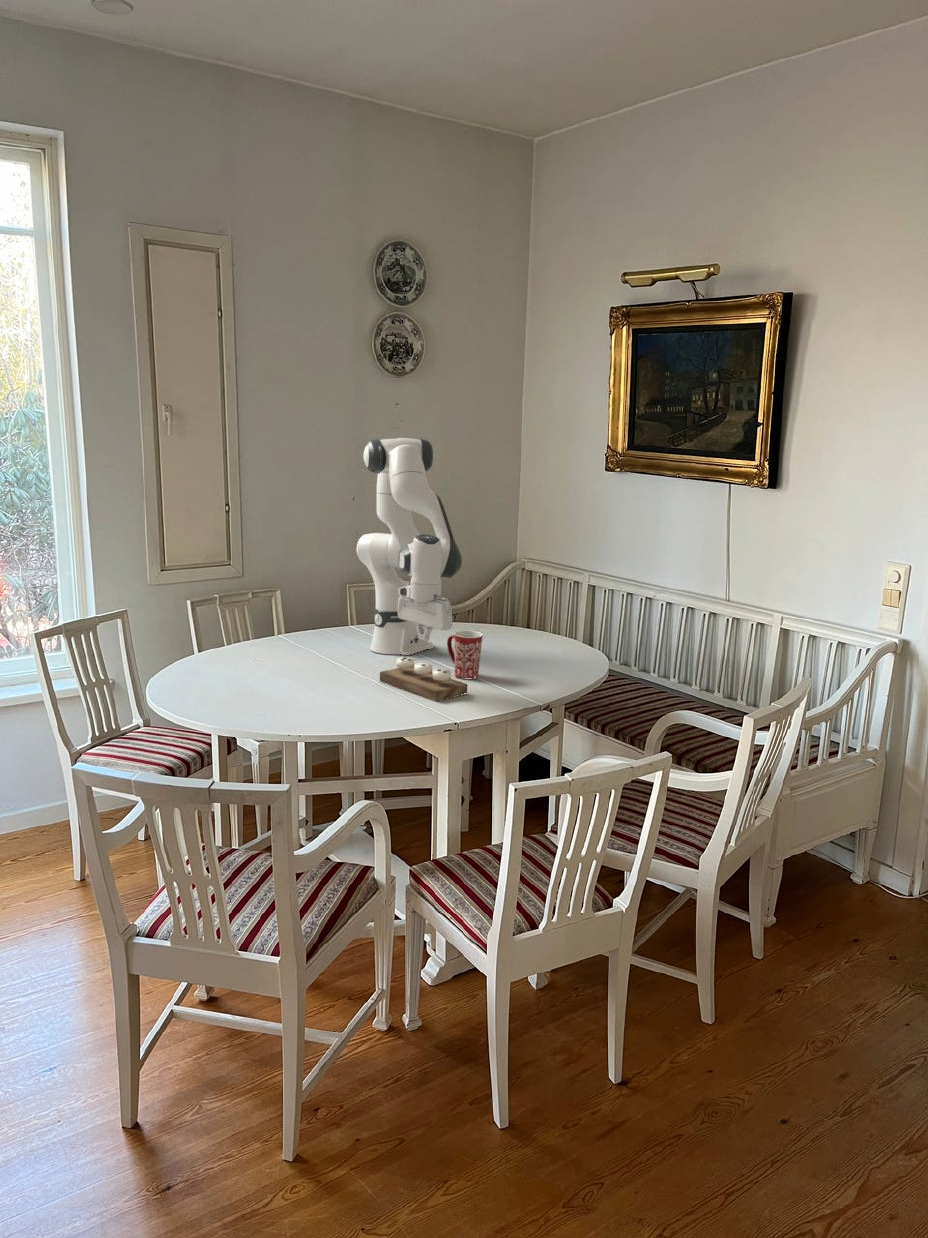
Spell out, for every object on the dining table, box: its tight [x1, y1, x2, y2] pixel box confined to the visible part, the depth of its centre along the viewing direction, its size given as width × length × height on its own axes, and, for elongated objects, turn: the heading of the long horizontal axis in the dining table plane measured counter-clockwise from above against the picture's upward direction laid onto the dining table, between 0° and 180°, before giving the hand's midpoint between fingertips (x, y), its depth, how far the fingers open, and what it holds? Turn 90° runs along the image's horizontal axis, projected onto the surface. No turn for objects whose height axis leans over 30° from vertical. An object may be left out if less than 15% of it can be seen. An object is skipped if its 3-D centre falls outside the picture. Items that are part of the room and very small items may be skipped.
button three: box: [396, 656, 415, 668], centre depth 280 cm, size 5×5×2 cm
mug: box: [446, 629, 484, 679], centre depth 289 cm, size 13×9×14 cm
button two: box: [432, 668, 452, 681], centre depth 268 cm, size 5×5×2 cm
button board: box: [379, 667, 469, 703], centre depth 275 cm, size 12×25×3 cm, turn 44°
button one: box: [414, 662, 433, 674], centre depth 274 cm, size 5×5×2 cm
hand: (423, 639), depth 272 cm, fingers closed
